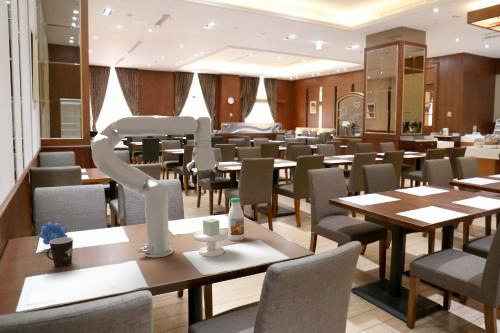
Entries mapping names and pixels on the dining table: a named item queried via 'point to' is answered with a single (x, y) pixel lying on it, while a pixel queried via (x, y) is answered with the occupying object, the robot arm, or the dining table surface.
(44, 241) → the grapes
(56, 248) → the coffee mug
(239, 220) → the milk bottle
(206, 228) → the block
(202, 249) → the cake stand
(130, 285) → the dining table surface
